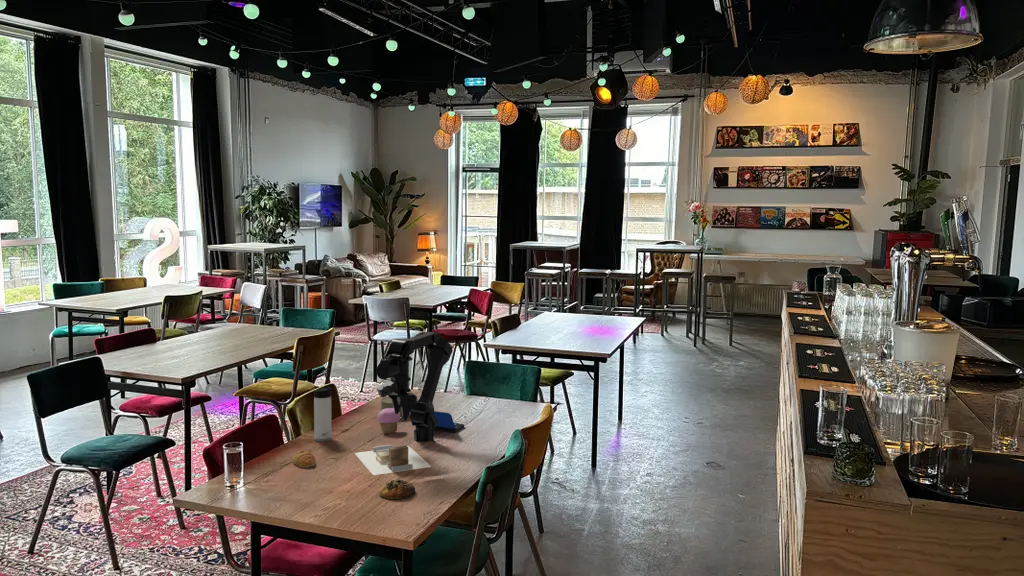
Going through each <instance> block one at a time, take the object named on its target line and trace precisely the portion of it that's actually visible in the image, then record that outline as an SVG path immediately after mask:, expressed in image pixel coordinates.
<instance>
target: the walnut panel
mask: <svg viewBox="0 0 1024 576" xmlns="http://www.w3.org/2000/svg"><path fill="white" fill-rule="evenodd" d="M407 446H408V445H400V446H392V448H389V469H390V470H391V467H393V466H400V465H406V464H408V447H407Z"/></svg>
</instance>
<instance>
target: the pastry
mask: <svg viewBox="0 0 1024 576" xmlns="http://www.w3.org/2000/svg"><path fill="white" fill-rule="evenodd" d="M292 462H293V464H294V465H295V466H297V467H300V468H309V467H314V466H315V465H316V463H317V462H316V458H315V455H314V454H313V453H312V452H309V451H306V450H298V451H297V452H295V454H294V455H293V457H292Z"/></svg>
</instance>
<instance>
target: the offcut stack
mask: <svg viewBox="0 0 1024 576" xmlns="http://www.w3.org/2000/svg"><path fill="white" fill-rule="evenodd" d="M376 460H377V461H378V462H379V463H380V464H383V463H388V462H389V451H385V452H377V456H376Z"/></svg>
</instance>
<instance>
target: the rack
mask: <svg viewBox="0 0 1024 576" xmlns="http://www.w3.org/2000/svg"><path fill="white" fill-rule="evenodd" d="M406 446H407V447H408V464H406V465H400V466H393V467H391V470H390V469H389V462H388V463H383V464H380V463H379V462H378V461H377V460H376V456H377V452H385V451H389V448H392V447H393V444H384V445H377V446H372V450H368V451H361V452H359V451H358V452H354V454H355V456H356V457H357V458H358V459H359V460H360V462H361V463H362V464H363V466H365V468H366V469H367V470H368V471H369V473H371V475H372V476H377V475H384V474H386V475H387V474H392V473H398V472H404V471H405V472H407V471H412V470H418V469H427V468H431V467H432V465H430V464H429V463H428V462H427V461H426V460H425V459H424V458H423V457H422V456H420V454H418V453H417V451H415V450H414V449H413V448H412V447H410V445H406Z"/></svg>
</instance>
